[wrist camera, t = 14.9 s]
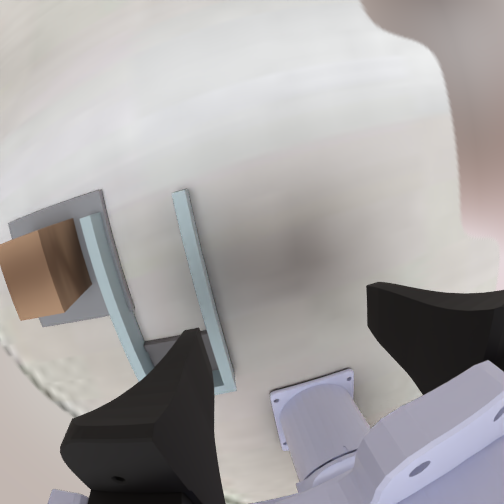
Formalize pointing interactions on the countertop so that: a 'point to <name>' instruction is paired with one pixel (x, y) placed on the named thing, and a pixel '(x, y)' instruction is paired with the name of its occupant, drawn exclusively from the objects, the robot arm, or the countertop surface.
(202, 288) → the u-shaped bracket
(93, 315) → the coaster
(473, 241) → the countertop surface
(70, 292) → the block
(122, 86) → the countertop surface
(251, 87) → the countertop surface
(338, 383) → the robot arm
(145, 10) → the countertop surface
